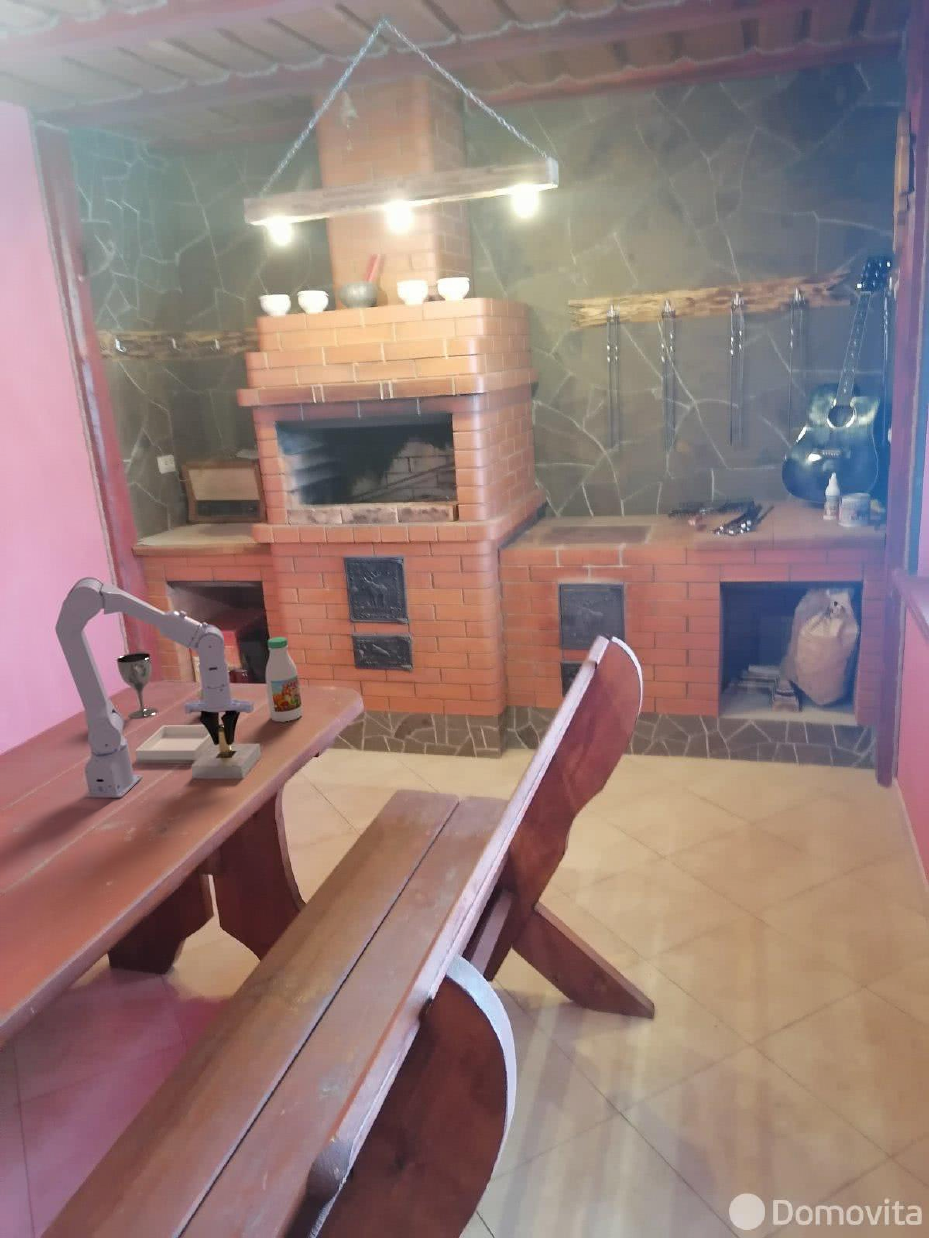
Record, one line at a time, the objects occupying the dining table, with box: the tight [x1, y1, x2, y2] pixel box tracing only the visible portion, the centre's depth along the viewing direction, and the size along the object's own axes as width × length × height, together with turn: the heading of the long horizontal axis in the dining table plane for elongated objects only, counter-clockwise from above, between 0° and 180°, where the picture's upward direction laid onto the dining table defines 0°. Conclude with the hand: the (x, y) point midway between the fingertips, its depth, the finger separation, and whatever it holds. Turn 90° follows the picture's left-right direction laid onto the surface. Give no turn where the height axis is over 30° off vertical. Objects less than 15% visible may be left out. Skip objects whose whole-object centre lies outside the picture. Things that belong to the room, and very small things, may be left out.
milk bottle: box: [265, 636, 303, 723], centre depth 218 cm, size 8×8×20 cm
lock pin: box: [216, 723, 232, 758], centre depth 193 cm, size 2×2×8 cm
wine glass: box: [116, 651, 159, 720], centre depth 227 cm, size 8×8×15 cm
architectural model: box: [197, 687, 204, 701], centre depth 225 cm, size 3×7×7 cm, turn 176°
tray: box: [134, 724, 214, 764], centre depth 205 cm, size 14×14×3 cm
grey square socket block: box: [191, 743, 262, 780], centre depth 194 cm, size 11×11×3 cm
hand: (224, 743), depth 193 cm, fingers closed on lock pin, 2 cm apart
